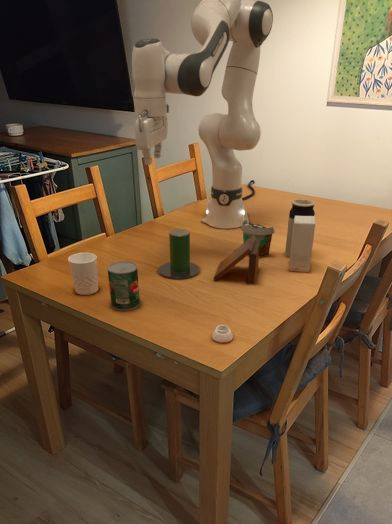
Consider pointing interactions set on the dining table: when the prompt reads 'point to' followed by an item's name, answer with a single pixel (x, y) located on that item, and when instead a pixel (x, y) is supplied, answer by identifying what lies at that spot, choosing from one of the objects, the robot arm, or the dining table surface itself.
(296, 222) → the cosmetic box
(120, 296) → the canned tomato
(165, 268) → the disc
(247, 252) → the stand
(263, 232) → the food container
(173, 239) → the can
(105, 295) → the dining table surface
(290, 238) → the travel mug
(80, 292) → the white cup
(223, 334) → the white jar
